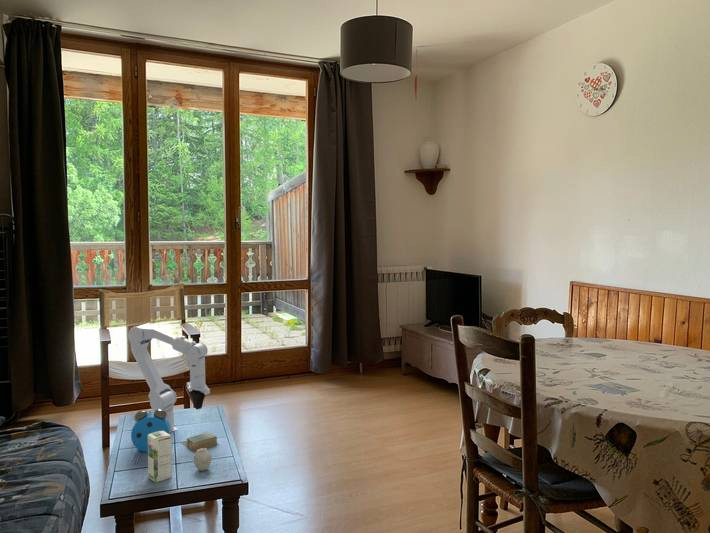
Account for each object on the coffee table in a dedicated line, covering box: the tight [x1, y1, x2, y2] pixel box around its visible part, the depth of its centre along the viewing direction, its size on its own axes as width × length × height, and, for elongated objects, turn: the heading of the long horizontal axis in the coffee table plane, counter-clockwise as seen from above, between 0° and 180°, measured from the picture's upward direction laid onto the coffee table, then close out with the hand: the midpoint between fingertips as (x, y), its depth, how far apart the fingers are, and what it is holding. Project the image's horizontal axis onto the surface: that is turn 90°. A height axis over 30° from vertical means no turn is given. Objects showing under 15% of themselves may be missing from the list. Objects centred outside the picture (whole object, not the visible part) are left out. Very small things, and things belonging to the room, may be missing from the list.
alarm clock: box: [130, 409, 172, 453], centre depth 197 cm, size 13×6×15 cm, turn 102°
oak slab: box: [186, 431, 218, 451], centre depth 200 cm, size 3×9×6 cm
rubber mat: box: [180, 440, 220, 453], centre depth 202 cm, size 12×10×1 cm
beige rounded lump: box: [192, 448, 213, 472], centre depth 181 cm, size 6×7×7 cm
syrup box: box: [147, 431, 173, 483], centre depth 175 cm, size 6×6×14 cm
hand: (198, 408), depth 211 cm, fingers closed
